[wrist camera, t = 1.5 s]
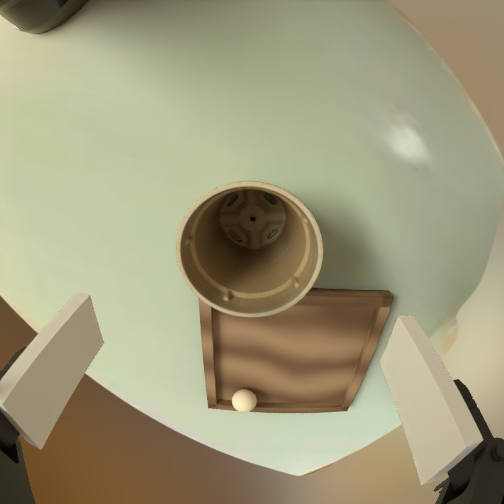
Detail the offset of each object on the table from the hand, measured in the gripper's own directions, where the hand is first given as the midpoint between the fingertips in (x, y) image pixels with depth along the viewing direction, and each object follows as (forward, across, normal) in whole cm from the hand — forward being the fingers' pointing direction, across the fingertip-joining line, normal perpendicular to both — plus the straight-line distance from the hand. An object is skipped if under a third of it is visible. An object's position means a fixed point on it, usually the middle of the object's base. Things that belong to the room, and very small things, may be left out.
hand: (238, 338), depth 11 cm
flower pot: (+16, 0, 0) cm, 16 cm away
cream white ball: (+16, 0, -23) cm, 28 cm away
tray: (+16, +5, -17) cm, 24 cm away
